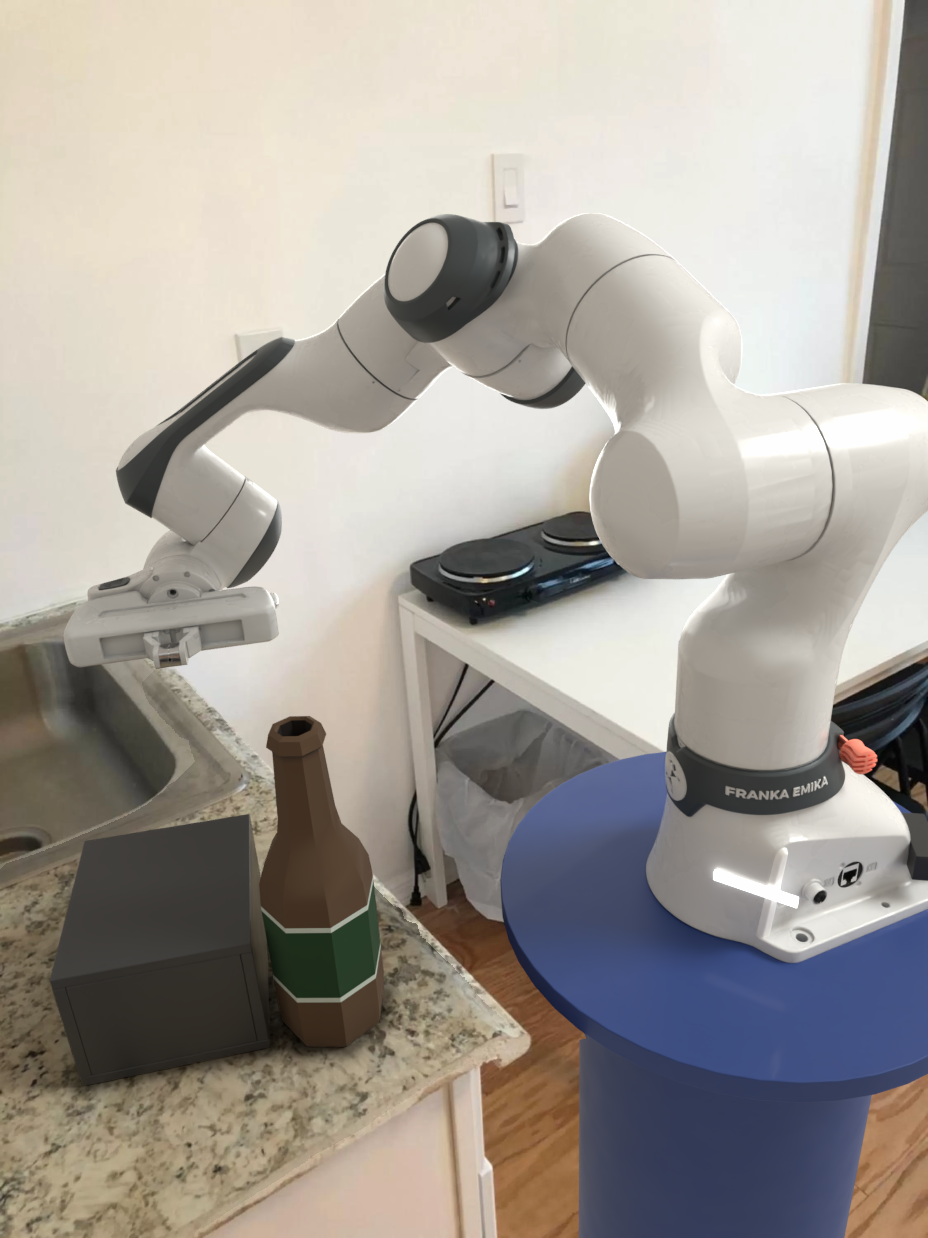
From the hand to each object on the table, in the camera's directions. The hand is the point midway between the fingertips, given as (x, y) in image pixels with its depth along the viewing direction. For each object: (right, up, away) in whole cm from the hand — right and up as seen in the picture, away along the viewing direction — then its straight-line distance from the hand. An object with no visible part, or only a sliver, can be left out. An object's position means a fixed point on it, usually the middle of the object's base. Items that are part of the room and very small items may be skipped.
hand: (169, 660), depth 86 cm
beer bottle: (+18, -25, -18) cm, 36 cm away
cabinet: (+6, -24, -16) cm, 29 cm away
